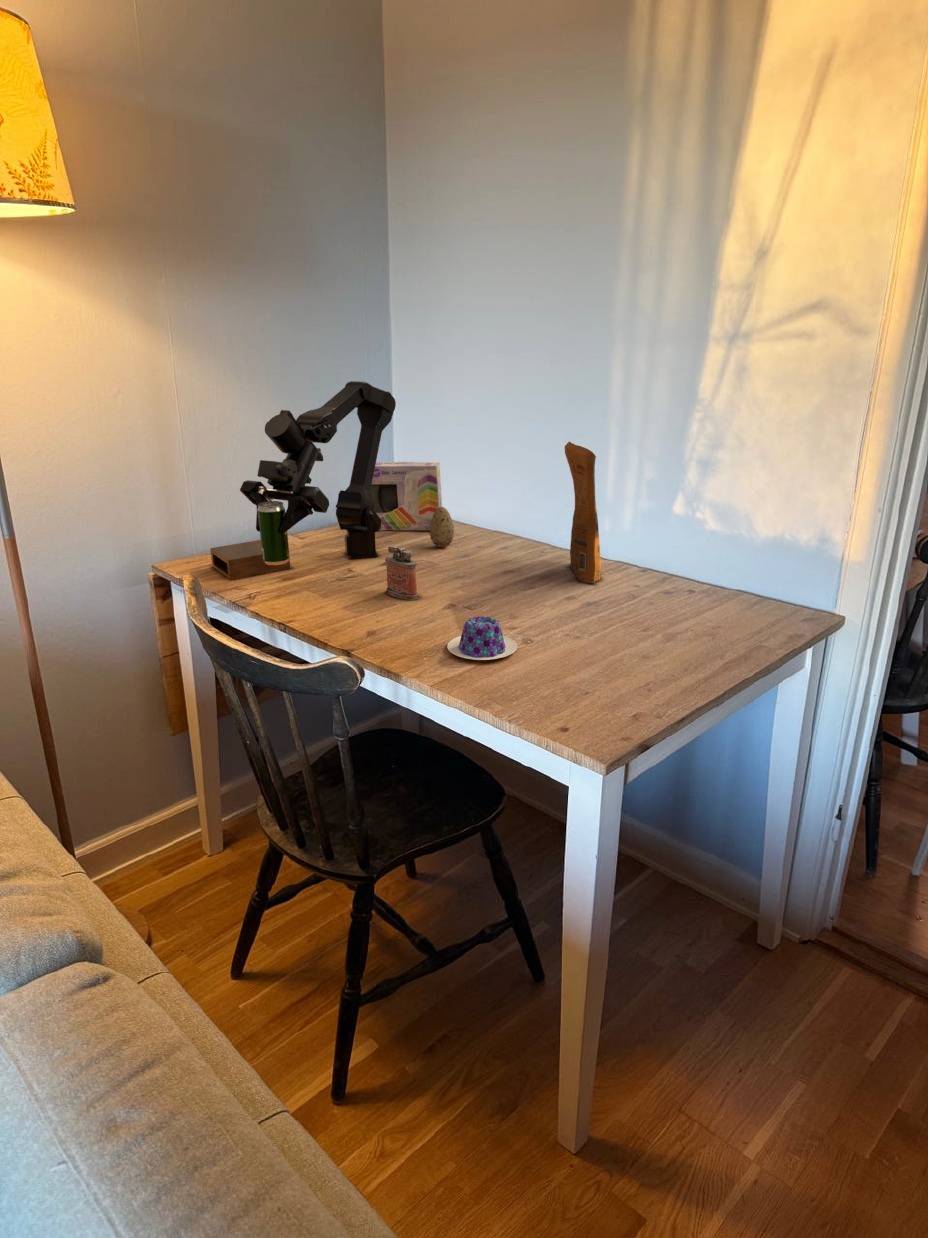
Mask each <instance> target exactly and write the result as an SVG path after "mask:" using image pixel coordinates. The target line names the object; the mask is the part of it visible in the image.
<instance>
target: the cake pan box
mask: <svg viewBox="0 0 928 1238" xmlns="http://www.w3.org/2000/svg"><path fill="white" fill-rule="evenodd" d="M440 464H441V463H440V462H439V461H435V462H434V461H433V462H431V461H427V462H425V461H423V462H422V461H421V462H420V461H419V462H418V461H376V464H375V469H374V474H373V479H372V485H371V490H370V491H371V494H372V497H373V500H374V503H375V505H374V511H375V512H376V514H377V515H378V516H379V517H380V519H381V520H382V522H381V529H379V531H430V524H431V520H432V517H433V514H434V512H435V511H436V510H437V509H438V508H439V507H443V497H442V483H441V482H442V481H441V467H440V466H441V465H440Z"/></svg>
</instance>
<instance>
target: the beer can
mask: <svg viewBox="0 0 928 1238" xmlns="http://www.w3.org/2000/svg"><path fill="white" fill-rule="evenodd" d="M257 511H258V520H259V529H260V532H259V538H260V540H261V547H262V556H263V561H264V562H265V564H267V565H281V564H285V563H287V562H288V561H289V558H290V556H291V555H290V547H289V534H288V531H287V532H285V533H284V534H283V535H281V534H280V533H279V528H280V525H281V523H282V520H283V518H284V515H285V513H286V507H285V506H284V502H283V501H280V500H272V501H268V502H262V503H259V504H258V509H257V508H256V512H257Z"/></svg>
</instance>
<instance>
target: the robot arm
mask: <svg viewBox="0 0 928 1238" xmlns="http://www.w3.org/2000/svg"><path fill="white" fill-rule="evenodd" d="M396 406H397V403H396V399H395V398H394V397H393V395H392V393H391V392H390V391H385V390H383V389H381V388H378V387H375V386H373V385H371V384H370V383H368V382H366V381H360V380H359V381H355V380H350V381H349V382H348V381H347V382H346V384H345V385H344V387H343V388H342V389H340V391H338V392H337V393H336V394H334V396H332V397H331V398H330V399H329V400H327V402H325V403H324V404H323V405H322V406H320V407H318V408H314V409H311V410H307V411H305V412H302V413H301V414H299V415H298V416H297V418H295V417H294V415H293V413H292V412H291V410H290V409H289V410H287V409H281V410H280V412H279V414H276V415H274V416H273V417H271V418H270V419H269V420H268V421H266V423H265V425H264V433H265V435H266V436H267V437H268V438H269V440H270V441H271V442H272V443H273V444H274V445H275V446H276V448H277V449H278V450H279V451H280V452H281V453H283V454H286V457H285V458H284V459H282V461H275V460H266V459H265V460H262V459H260V460H259V464H258V469H257V475H256V476H257V477H259V478H263V479H266V480H267V481H266V483H267V484H268V486H271V487H272V488H267V487H266V486H265V485H264V483H263V482H262V481H260V480H259V481H258V480H245V481H243V482H242V484H241V486H240V488H239V492H241V493H242V495H243V496H245V497H246V499H247V500H248V501H249V502H251V503H252V504H253V505H254V506H256V516H255V517H256V519H255V530H256V531H257V532H259V533H260V529H259V520H258V511H257V509H258V504H259V503H262V502H268V501H274V500H276V501H287V509H285V515H284V518H283V520H282V523H281V525H280V528H279V533H280V534H281V535H283V534H284V533H285V532H287V533H288V531H289V530H290V529H292V528H293V527H294V526H296V525H297V524H298V523H299V522H301V521H302V520H304V519H305V518H306V517H308V516H312V515H313V514H314V513H321V514H322V513H323V514H326V513H327V511H328V509H329V507H330V501H329V498H328V497H327V496H326V495H325V493H324V492H323V490H321V489H320V488H319V486H311V483H312V480H313V479H312V478H311V476H310V475H311V472H312V470H313V467H314V465H315V463H316V462H323V461H324V455H323V454H322V451H321V450H322V449H321V448H320V447H317V446H316V445H315V443H316V444H328V443H329V442H330V441H331V440H332V439H333V437H335V435H336V434H337V433H338V425H339V424H340V423H341V422H342V421H343V419H345V418H346V417H348V415H349V414H351V412H353V411H354V410H355V409H356V415H357V418H358V420H359V423H360V431H359V435H358V441H357V446H356V449H355V456H354V460H353V465H352V471H351V476H350V481H349V485H348V486H347V487H346V489H345V490H340V491H339V492H338V494H337V495H338V496H337V502H336V505H335V517H336V520H337V523H338V526H339V530H341V531H346V534H345V535H344V550H345V553H346V554H347V556H348V557H349V558H350V559H351V560H353V559H355V560H356V559H365V558H374V557H378V556H379V554H378V552H377V548H376V546H377V545H376V544H377V543H376V533H377V532H379V531H380V530H379V529H381V522H382V520H381V519H380V517H379V516H378V515H377V514H376V512H375V511H374V505H375V503H374V500H373V497H372V494H371V491H370V490H371V485H372V479H373V474H374V469H375V464H376V462H377V458H378V453H379V449H380V443H381V439H382V434H383V431H384V430H385V429H386V428H387V426H388V425H389V424H390V423H391V422H392V419H393V415H394V412H395V410H396ZM306 484H307V485H306ZM308 484H309V485H308Z"/></svg>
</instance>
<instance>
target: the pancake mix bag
mask: <svg viewBox="0 0 928 1238" xmlns="http://www.w3.org/2000/svg"><path fill="white" fill-rule="evenodd" d="M564 455H565V457H566V461H567V464H568V467H569V471H570V475H571V478H572V483H573V492H574V510H573V515H572V522H571V523H572V524H571V532H570V534H571V535H570V545H569V546H570V547H569V548H570V549H569V556H570V557H569V558H570V567H571V570H572V571H573V573H574V574H575V576H576V578H577V579H578V581H580V582H582V583H587V584H594V585H595V582H598V581H600V579H601V574H602V573H601V572H602V560H601V544H600V532H599V531H600V529H599V520H598V519H599V518H598V509H597V502H596V501H597V500H596V473H595V472H596V470H595V469H596V467H595V466H596V460H597V455H596V454H595V453H594V452H593V451H592V450H590V449H588V448H586V447H584V446H581V445H577V444H575V443H572V442H571V441H568V442H566V444H565V445H564Z"/></svg>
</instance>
